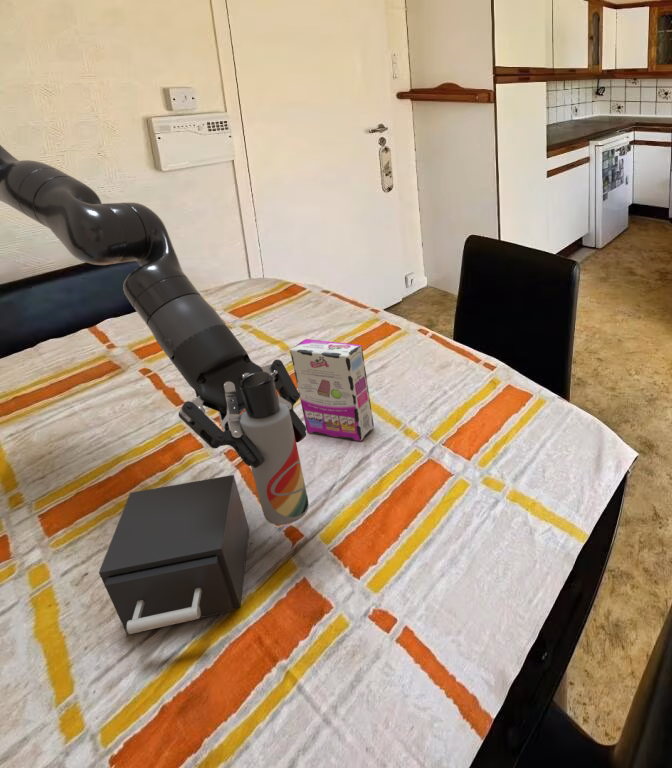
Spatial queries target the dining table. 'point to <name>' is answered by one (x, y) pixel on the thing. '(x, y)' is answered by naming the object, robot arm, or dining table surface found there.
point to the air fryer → (182, 530)
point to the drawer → (169, 594)
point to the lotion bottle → (273, 450)
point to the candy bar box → (333, 388)
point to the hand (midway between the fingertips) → (281, 451)
